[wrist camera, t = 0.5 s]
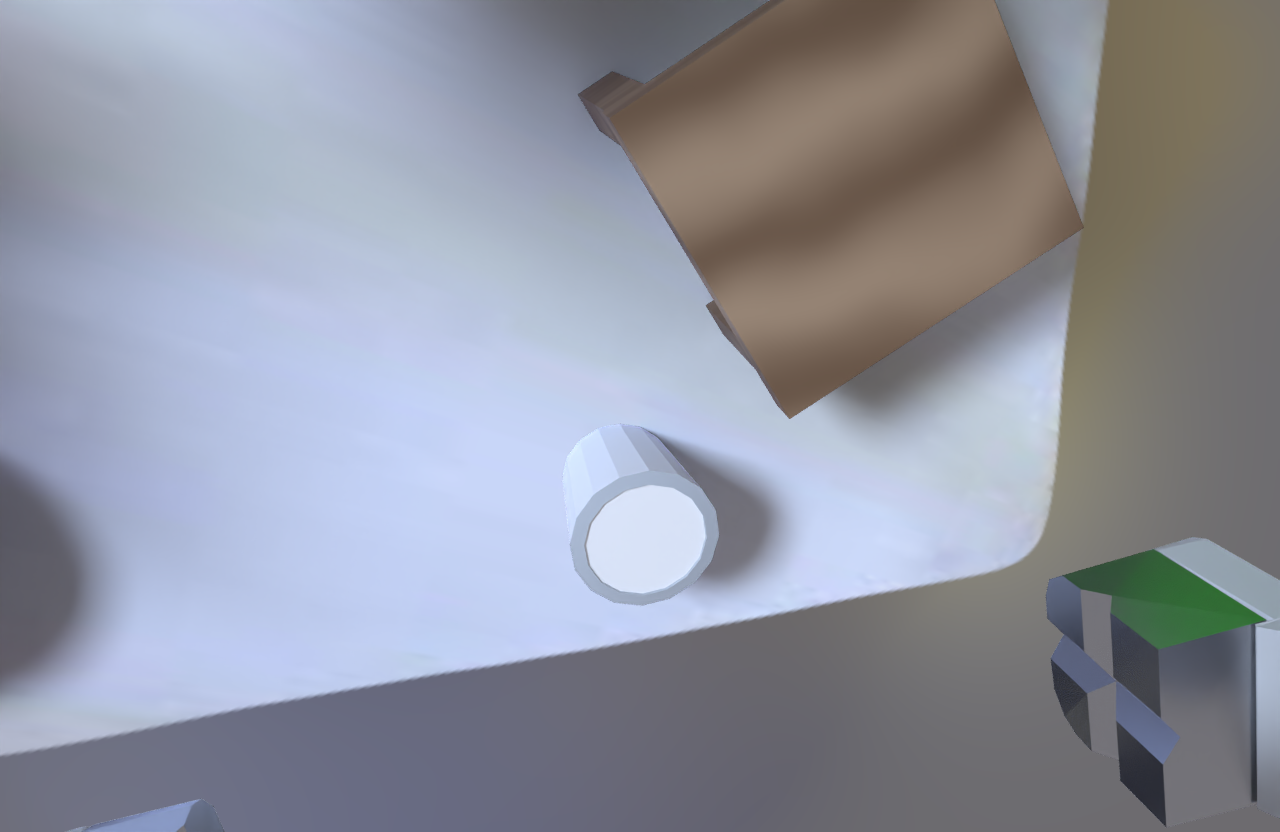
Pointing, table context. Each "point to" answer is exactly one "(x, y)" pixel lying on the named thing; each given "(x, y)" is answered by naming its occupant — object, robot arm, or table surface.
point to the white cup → (635, 517)
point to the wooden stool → (843, 176)
